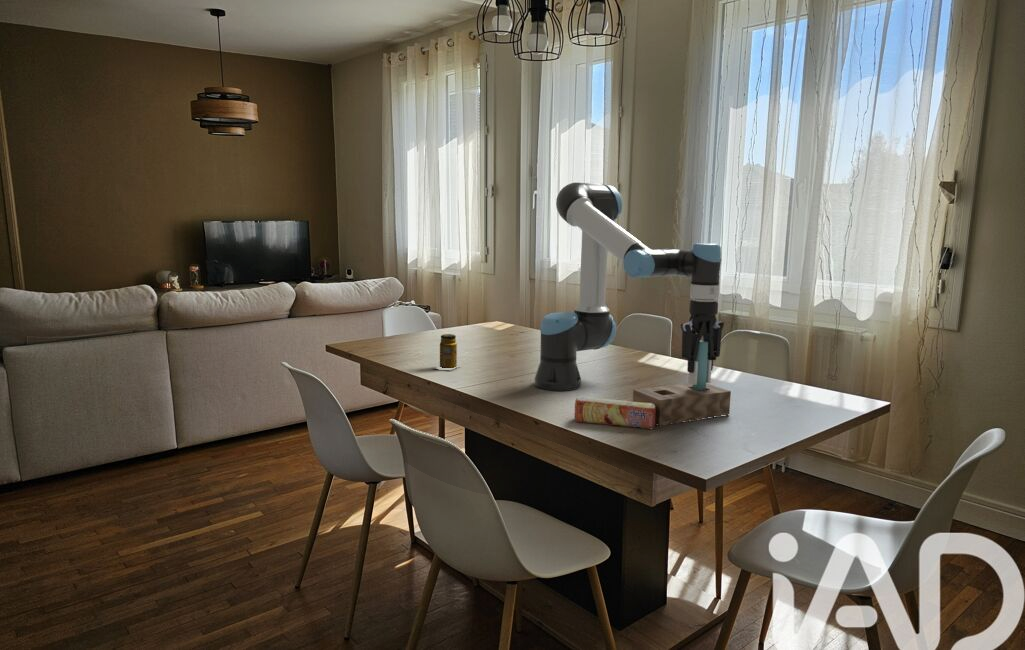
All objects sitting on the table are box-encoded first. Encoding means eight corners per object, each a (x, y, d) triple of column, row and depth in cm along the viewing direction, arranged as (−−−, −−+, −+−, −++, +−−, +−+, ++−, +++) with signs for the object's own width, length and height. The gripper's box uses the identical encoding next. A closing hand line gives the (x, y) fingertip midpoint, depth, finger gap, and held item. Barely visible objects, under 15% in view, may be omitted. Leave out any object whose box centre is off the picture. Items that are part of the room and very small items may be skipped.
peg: (697, 407, 189) (700, 343, 186) (689, 403, 193) (692, 341, 190) (707, 405, 191) (711, 342, 188) (699, 402, 194) (702, 340, 191)
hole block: (659, 426, 179) (660, 400, 178) (632, 414, 190) (633, 389, 189) (729, 415, 189) (730, 391, 188) (699, 405, 200) (701, 381, 199)
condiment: (461, 367, 247) (461, 334, 245) (450, 371, 239) (450, 338, 237) (443, 365, 249) (443, 332, 248) (431, 369, 242) (431, 336, 240)
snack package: (655, 424, 181) (657, 399, 180) (654, 431, 175) (655, 406, 174) (577, 417, 187) (577, 393, 186) (572, 424, 181) (573, 399, 180)
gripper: (688, 302, 180) (683, 388, 184) (737, 300, 187) (732, 383, 191) (670, 299, 187) (666, 382, 190) (718, 297, 194) (713, 377, 198)
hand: (699, 382), depth 191 cm, fingers open, 4 cm apart
